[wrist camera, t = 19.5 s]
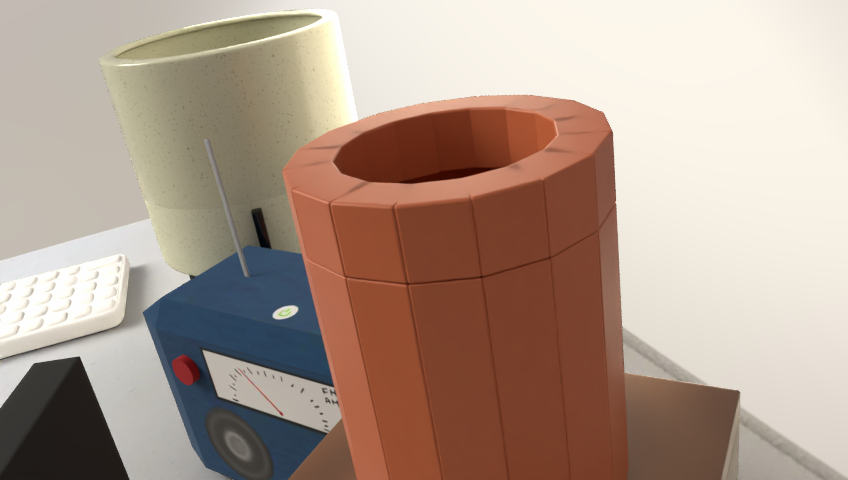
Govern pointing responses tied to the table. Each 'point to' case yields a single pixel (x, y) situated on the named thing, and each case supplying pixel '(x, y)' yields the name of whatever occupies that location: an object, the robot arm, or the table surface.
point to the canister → (469, 288)
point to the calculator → (62, 304)
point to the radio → (247, 360)
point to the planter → (227, 125)
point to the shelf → (646, 433)
